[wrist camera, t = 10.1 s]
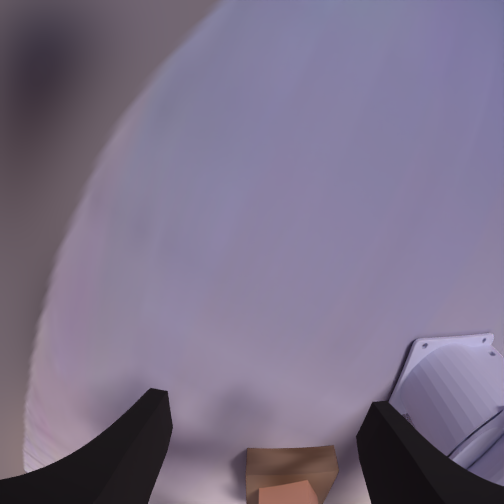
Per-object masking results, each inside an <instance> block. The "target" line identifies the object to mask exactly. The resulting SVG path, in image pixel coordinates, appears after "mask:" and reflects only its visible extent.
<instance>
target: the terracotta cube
mask: <svg viewBox="0 0 504 504" xmlns="http://www.w3.org/2000/svg"><path fill="white" fill-rule="evenodd" d="M259 504H318V497H317V495H316V493H315V492H314V490H313V488H312V487H311V485H310V483H309V482H308V480H305V481H300V482H295V483H290V484H285V485H279V486H273V487H266V488H259Z"/></svg>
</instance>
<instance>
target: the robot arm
mask: <svg viewBox="0 0 504 504" xmlns="http://www.w3.org/2000/svg"><path fill="white" fill-rule="evenodd" d="M493 340H494V335H493V334H492V333H485V334H475V335H464V336H451V337H436V338H419V339H417V340H415V341H414V342H413V344H412V347H411V350H410V352H409V355H408V358H407V360H406V363H405V365H404V368H403V370H402V373H401V375H400V377H399V380H398V382H397V384H396V386H395V389H394V391H393V393H392V395H391V397H390V400H389V402H388V401H380V402H372V404H371V407H370V409H369V411H368V413H367V415H366V417H365V420H364V422H363V424H362V426H361V428H360V430H359V432H358V434H357V436H356V439H357V447H358V454H359V460H360V464H361V467H362V471H363V475H364V478H365V482H366V485H367V489H368V493H369V496H370V500H371V504H504V357H503V356H502V355H501V354H500V353H499V352H498V351H497V350H496V349H495V348H494V347H493V346H492V345H491V344H492V342H493ZM423 344H425V345H424V346H423ZM403 414H409V416H410V418H411V420H412V422H413V424H414V426H415V428H414V427H413V426H412V425H411V424H410V423H409V422H408V421H407V420H406V419H405V418H404V417H403V416H402V415H403ZM172 429H173V425H172V419H171V412H170V405H169V398H168V391H164V390H158V389H153V388H150V389H149V390H148V391H147V392H146V393H145V394H144V395H143V396H142V397H141V398H140V399H139V400H138V401H137V402H136V403H135V404H134V405H133V406H132V407H131V408H130V409H129V410H128V411H127V412H126V413H124V414H123V415H122V416H121V417H120V418H119V419H118V420H117V421H115V422H114V423H113V424H112V425H111V426H110V427H109V428H107V429H106V430H105V431H103V432H102V433H101V434H100V435H98V436H97V437H96V438H94V439H93V440H92V441H90V442H89V443H87V444H86V445H85V446H83V447H81V448H80V449H78V450H77V451H75V452H73V453H72V454H70V455H68V456H66V457H64V458H62V459H61V460H59V461H57V462H55V463H52V464H50V465H48V466H46V467H43V468H40V469H38V470H35V471H32V472H29V473H26V474H24V475H20V476H16V477H11V478H7V479H2V480H0V504H148V501H149V498H150V495H151V493H152V490H153V487H154V485H155V482H156V479H157V477H158V474H159V472H160V469H161V466H162V464H163V461H164V458H165V456H166V453H167V450H168V446H169V442H170V438H171V433H172Z"/></svg>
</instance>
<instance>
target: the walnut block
mask: <svg viewBox="0 0 504 504" xmlns="http://www.w3.org/2000/svg"><path fill="white" fill-rule="evenodd" d="M338 472H339V468H338V463H337V458H336V453H335V449H334V445H332V446H321V447H307V448H281V449H260V448H247V463H246V500H247V504H259V488H266V487H273V486H279V485H285V484H290V483H295V482H300V481H305V480H308V482H309V483H310V485H311V487H312V488H313V490H314V492H315V493H316V495H317V497H318V504H323V502H324V500H325V499H326V497H327V495H328V493H329V491H330V489H331V487H332V485H333V482H334V480H335V478H336V476H337V474H338Z"/></svg>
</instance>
